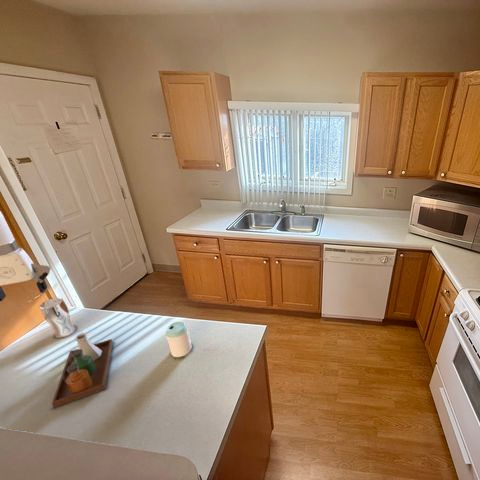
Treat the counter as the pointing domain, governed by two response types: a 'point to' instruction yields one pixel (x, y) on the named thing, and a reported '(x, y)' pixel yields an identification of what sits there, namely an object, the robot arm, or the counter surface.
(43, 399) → the counter surface
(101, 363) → the tray
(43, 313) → the beer glass
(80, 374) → the amber bottle
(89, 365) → the green bottle
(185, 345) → the can
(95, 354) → the flask
